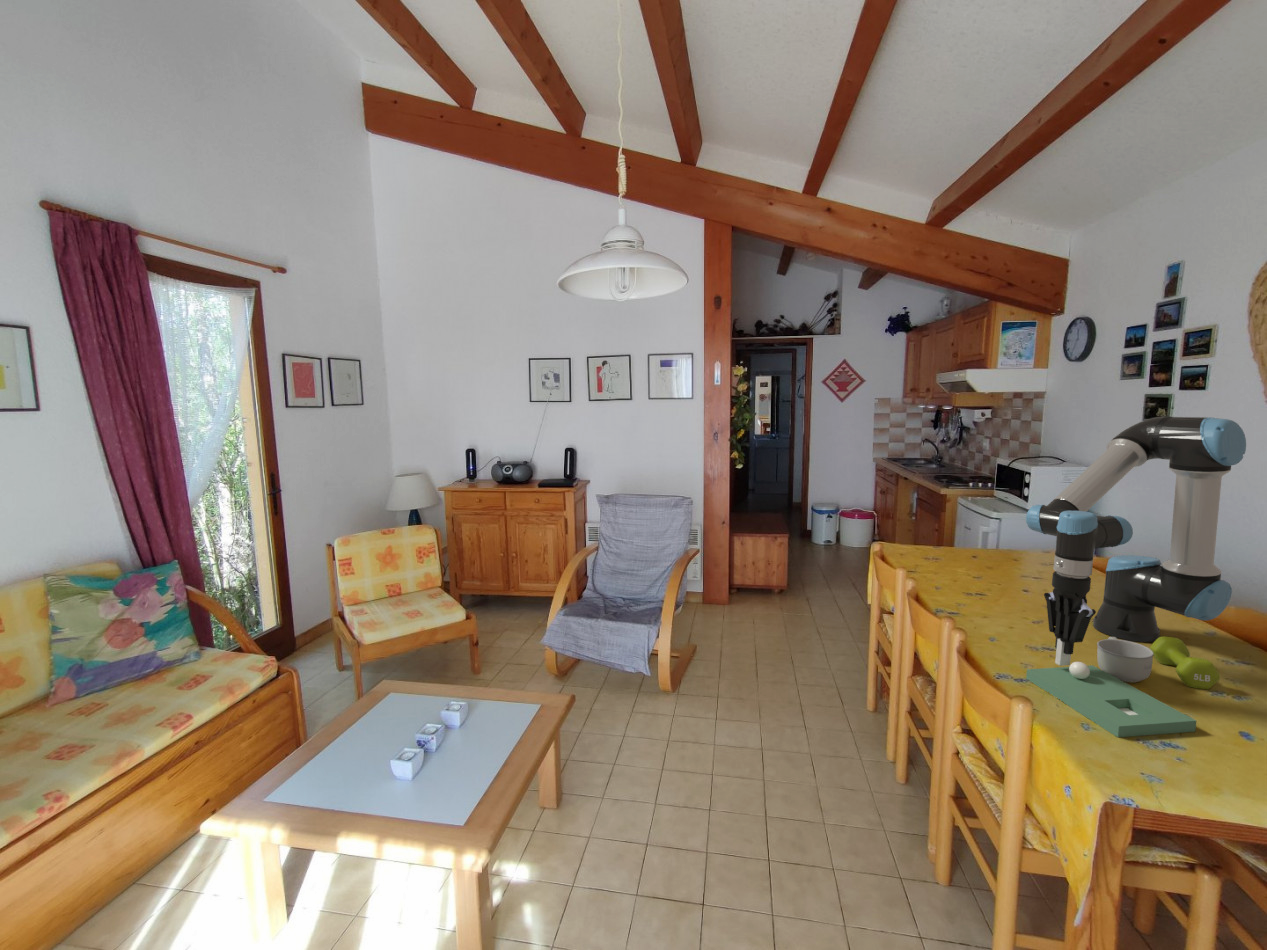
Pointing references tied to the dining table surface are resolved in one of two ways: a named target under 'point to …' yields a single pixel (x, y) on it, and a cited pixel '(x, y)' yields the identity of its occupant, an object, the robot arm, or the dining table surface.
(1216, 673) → the dumbbell
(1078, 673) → the ball
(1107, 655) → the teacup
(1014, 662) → the dining table surface
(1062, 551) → the robot arm
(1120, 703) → the putting mat
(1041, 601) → the dining table surface
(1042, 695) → the dining table surface
